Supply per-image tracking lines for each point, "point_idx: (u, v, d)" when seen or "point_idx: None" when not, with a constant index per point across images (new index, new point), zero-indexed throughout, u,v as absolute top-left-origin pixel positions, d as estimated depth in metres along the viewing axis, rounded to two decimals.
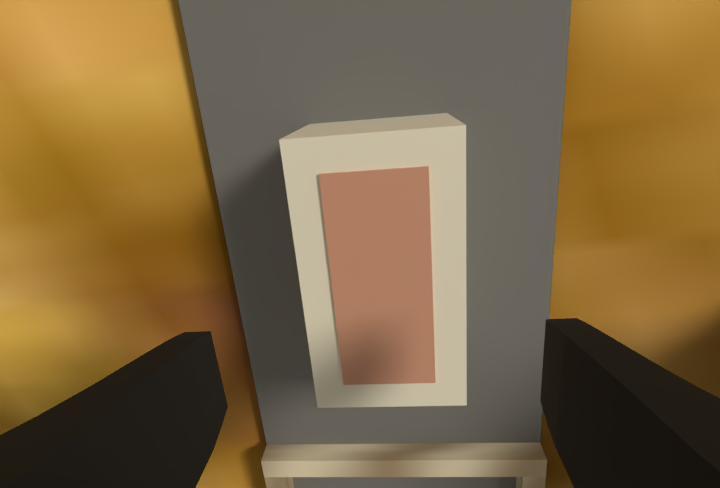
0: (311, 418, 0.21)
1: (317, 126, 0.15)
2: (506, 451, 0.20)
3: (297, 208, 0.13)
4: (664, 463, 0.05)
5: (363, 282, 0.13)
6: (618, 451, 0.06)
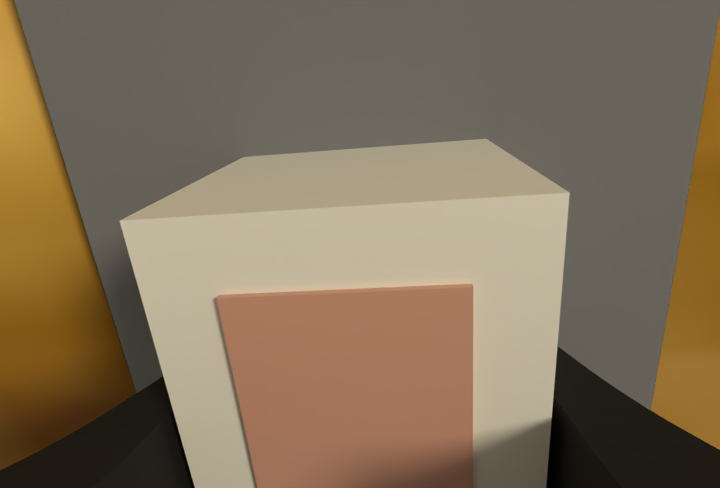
0: None
1: (249, 166, 0.08)
2: None
3: (178, 363, 0.06)
4: (574, 464, 0.05)
5: None
6: None
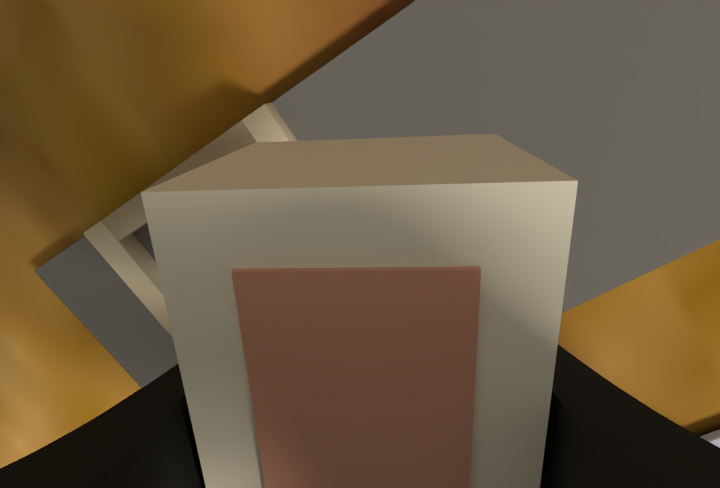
0: (345, 137, 0.16)
1: (262, 150, 0.08)
2: None
3: (189, 335, 0.06)
4: (578, 463, 0.05)
5: (329, 475, 0.07)
6: (546, 452, 0.07)
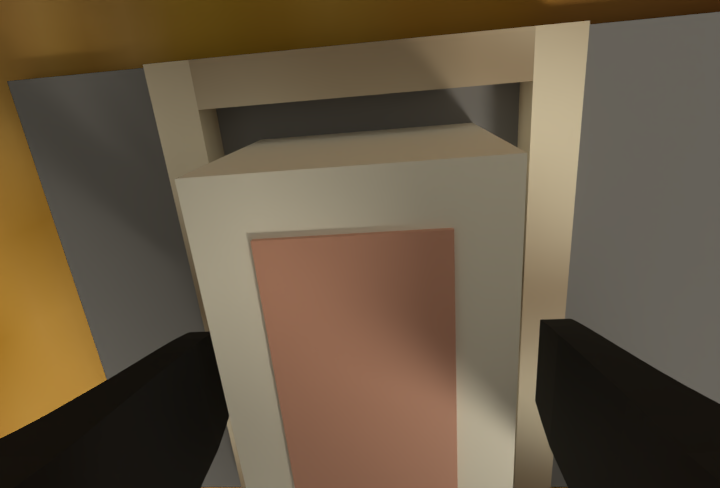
0: (634, 138, 0.10)
1: (268, 145, 0.09)
2: None
3: (216, 298, 0.07)
4: (654, 463, 0.05)
5: (337, 416, 0.08)
6: (609, 451, 0.06)
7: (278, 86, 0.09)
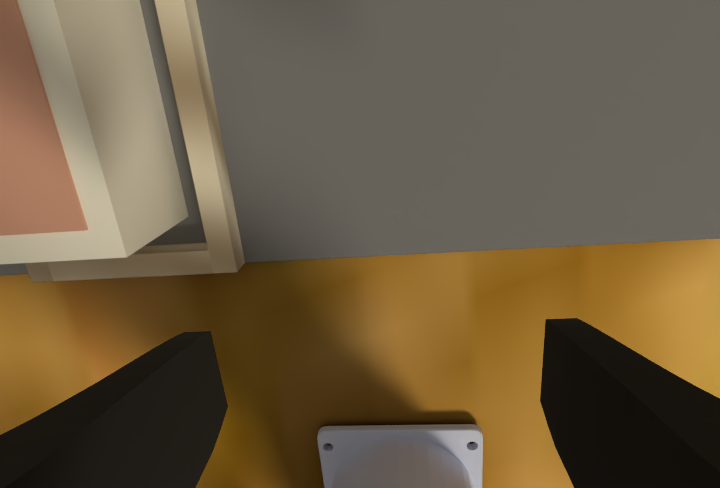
0: None
1: None
2: (233, 230, 0.18)
3: None
4: (664, 463, 0.05)
5: None
6: (617, 451, 0.06)
7: None
